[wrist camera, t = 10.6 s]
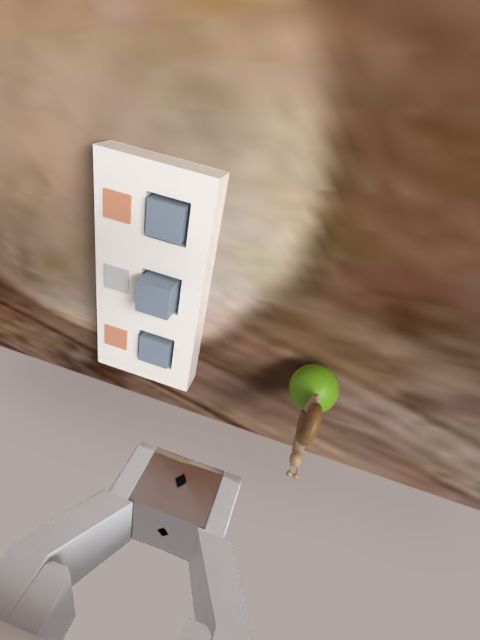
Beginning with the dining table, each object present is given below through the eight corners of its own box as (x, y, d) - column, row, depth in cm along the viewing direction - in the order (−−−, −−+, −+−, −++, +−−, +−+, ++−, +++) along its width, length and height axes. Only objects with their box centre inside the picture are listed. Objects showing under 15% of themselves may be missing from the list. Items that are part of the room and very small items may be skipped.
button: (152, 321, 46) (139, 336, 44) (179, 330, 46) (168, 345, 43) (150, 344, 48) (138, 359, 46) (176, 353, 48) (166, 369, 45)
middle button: (150, 267, 41) (136, 280, 38) (182, 277, 40) (169, 291, 38) (148, 296, 43) (135, 310, 40) (178, 305, 42) (166, 320, 40)
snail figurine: (284, 387, 47) (264, 468, 37) (300, 347, 43) (283, 426, 34) (327, 402, 47) (318, 489, 37) (347, 364, 43) (343, 448, 33)
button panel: (110, 139, 37) (91, 144, 34) (229, 171, 35) (219, 179, 33) (110, 348, 51) (97, 362, 49) (194, 376, 50) (185, 392, 47)
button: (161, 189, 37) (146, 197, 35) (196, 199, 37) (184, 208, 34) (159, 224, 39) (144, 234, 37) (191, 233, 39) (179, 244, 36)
